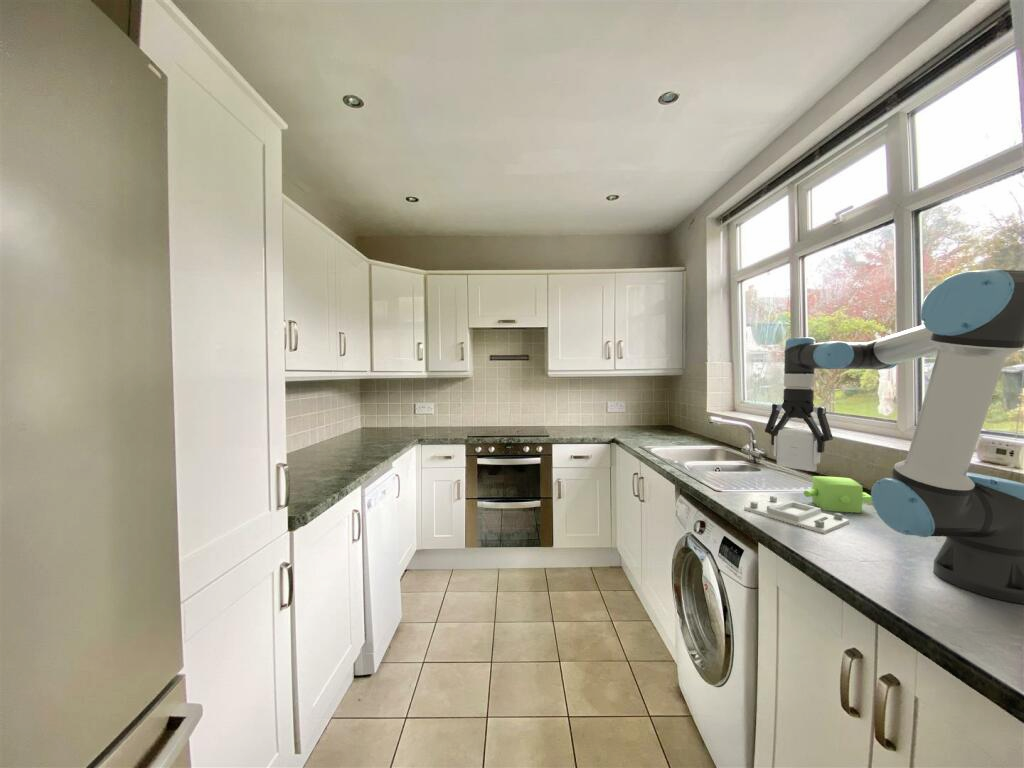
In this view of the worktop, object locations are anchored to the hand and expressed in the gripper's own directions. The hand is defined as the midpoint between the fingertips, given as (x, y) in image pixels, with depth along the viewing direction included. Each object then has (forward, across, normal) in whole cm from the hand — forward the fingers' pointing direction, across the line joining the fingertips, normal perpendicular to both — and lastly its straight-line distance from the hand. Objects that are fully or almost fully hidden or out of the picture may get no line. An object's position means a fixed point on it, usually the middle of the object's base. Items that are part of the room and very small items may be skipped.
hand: (796, 459), depth 122 cm
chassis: (+18, 0, 0) cm, 18 cm away
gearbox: (+18, -3, -20) cm, 27 cm away
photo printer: (+3, 0, 0) cm, 3 cm away
